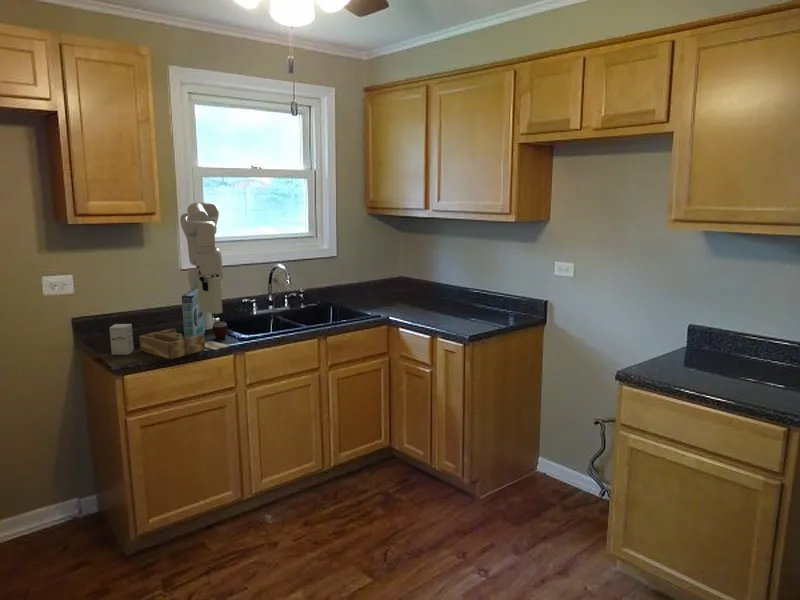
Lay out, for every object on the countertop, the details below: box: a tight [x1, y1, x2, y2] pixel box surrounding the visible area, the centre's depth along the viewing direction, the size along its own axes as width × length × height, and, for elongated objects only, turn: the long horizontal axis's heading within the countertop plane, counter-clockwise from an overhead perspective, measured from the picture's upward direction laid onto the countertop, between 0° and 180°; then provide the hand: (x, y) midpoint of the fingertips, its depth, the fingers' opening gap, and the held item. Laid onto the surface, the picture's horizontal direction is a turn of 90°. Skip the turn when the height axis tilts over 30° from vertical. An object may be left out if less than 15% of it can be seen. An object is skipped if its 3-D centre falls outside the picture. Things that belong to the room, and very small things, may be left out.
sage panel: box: [197, 276, 223, 315], centre depth 270 cm, size 4×12×16 cm, turn 55°
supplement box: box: [109, 323, 134, 356], centre depth 263 cm, size 7×7×13 cm
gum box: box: [181, 289, 206, 338], centre depth 288 cm, size 20×5×23 cm, turn 3°
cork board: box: [205, 340, 231, 351], centre depth 274 cm, size 8×14×1 cm, turn 55°
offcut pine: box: [165, 332, 183, 338], centre depth 272 cm, size 4×6×3 cm
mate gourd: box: [211, 313, 229, 341], centre depth 286 cm, size 8×8×15 cm
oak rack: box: [138, 327, 206, 360], centre depth 267 cm, size 18×22×7 cm
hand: (209, 289), depth 269 cm, fingers closed on sage panel, 3 cm apart
